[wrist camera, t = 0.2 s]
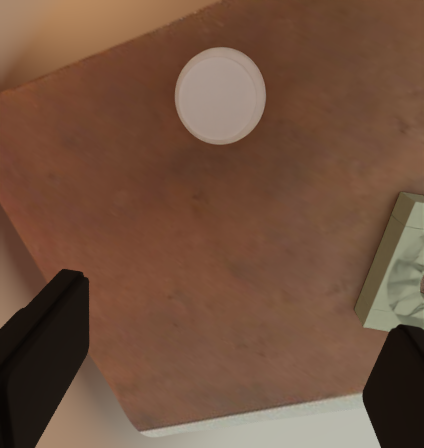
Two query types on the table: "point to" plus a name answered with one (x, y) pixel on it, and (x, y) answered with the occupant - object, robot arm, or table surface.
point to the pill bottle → (220, 95)
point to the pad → (396, 271)
